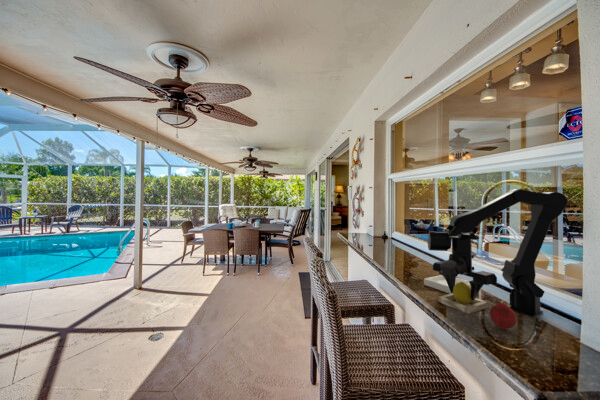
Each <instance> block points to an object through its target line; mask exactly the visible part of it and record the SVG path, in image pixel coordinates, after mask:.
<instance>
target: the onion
mask: <svg viewBox="0 0 600 400" xmlns="http://www.w3.org/2000/svg"><path fill="white" fill-rule="evenodd" d="M489 317H490V320H491V321H492V322H493V324H495V325H496V326H497V327H498V328H500V330H507V329H511V328H512V327H514V326H515V325H516V323H517V314H516V313H515V312H514V310H512V309H511V308H510V305H509V306H508V305H507V304H506V301H505V300H503V299H502V300H500V301H499V303H496V304H495V305H493V306H492V307H490V310H489Z"/></svg>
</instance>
